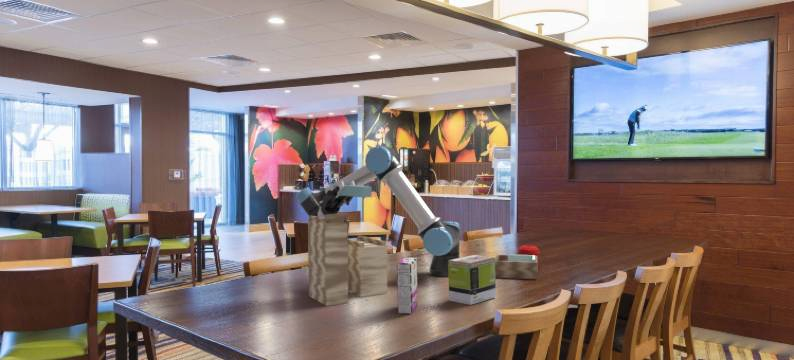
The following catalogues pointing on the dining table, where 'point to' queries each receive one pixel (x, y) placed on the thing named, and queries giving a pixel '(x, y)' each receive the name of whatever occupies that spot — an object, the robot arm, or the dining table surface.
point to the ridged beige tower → (367, 266)
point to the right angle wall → (521, 258)
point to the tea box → (472, 279)
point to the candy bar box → (407, 285)
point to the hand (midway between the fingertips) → (348, 183)
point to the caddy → (515, 268)
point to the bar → (356, 191)
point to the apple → (529, 250)
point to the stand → (328, 258)
